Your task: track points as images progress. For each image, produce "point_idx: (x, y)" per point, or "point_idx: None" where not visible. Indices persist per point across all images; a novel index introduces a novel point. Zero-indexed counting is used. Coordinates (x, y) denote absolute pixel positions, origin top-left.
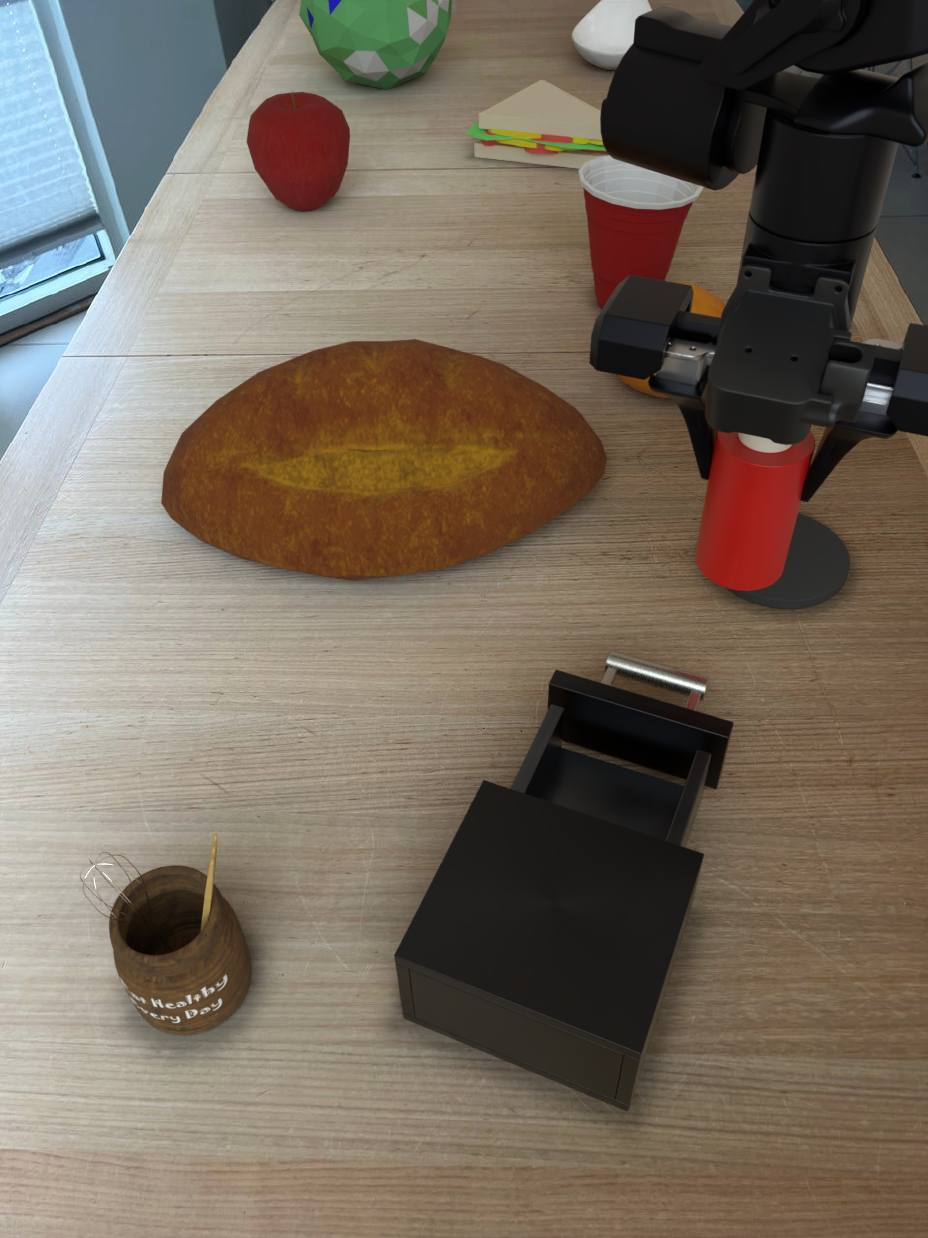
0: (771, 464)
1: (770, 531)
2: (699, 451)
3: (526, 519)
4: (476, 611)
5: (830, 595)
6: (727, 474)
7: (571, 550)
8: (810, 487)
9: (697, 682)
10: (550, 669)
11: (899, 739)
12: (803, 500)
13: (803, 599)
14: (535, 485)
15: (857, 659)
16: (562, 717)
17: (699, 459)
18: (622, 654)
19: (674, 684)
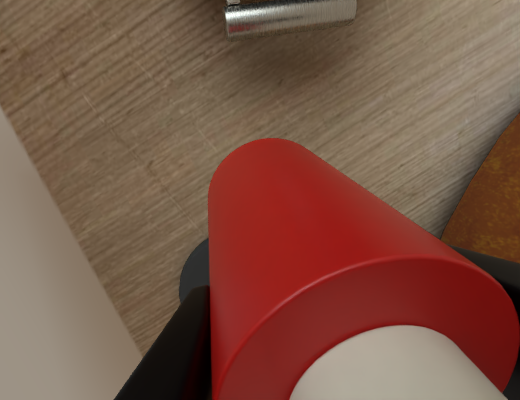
0: (319, 290)
1: (236, 195)
2: (500, 265)
3: (492, 182)
4: (477, 73)
5: (183, 269)
6: (410, 222)
7: (415, 198)
8: (190, 313)
9: (238, 14)
10: (387, 34)
11: (37, 133)
12: (202, 286)
13: (201, 248)
14: (515, 214)
15: (126, 211)
16: None
17: (472, 254)
18: (340, 12)
19: (263, 2)
